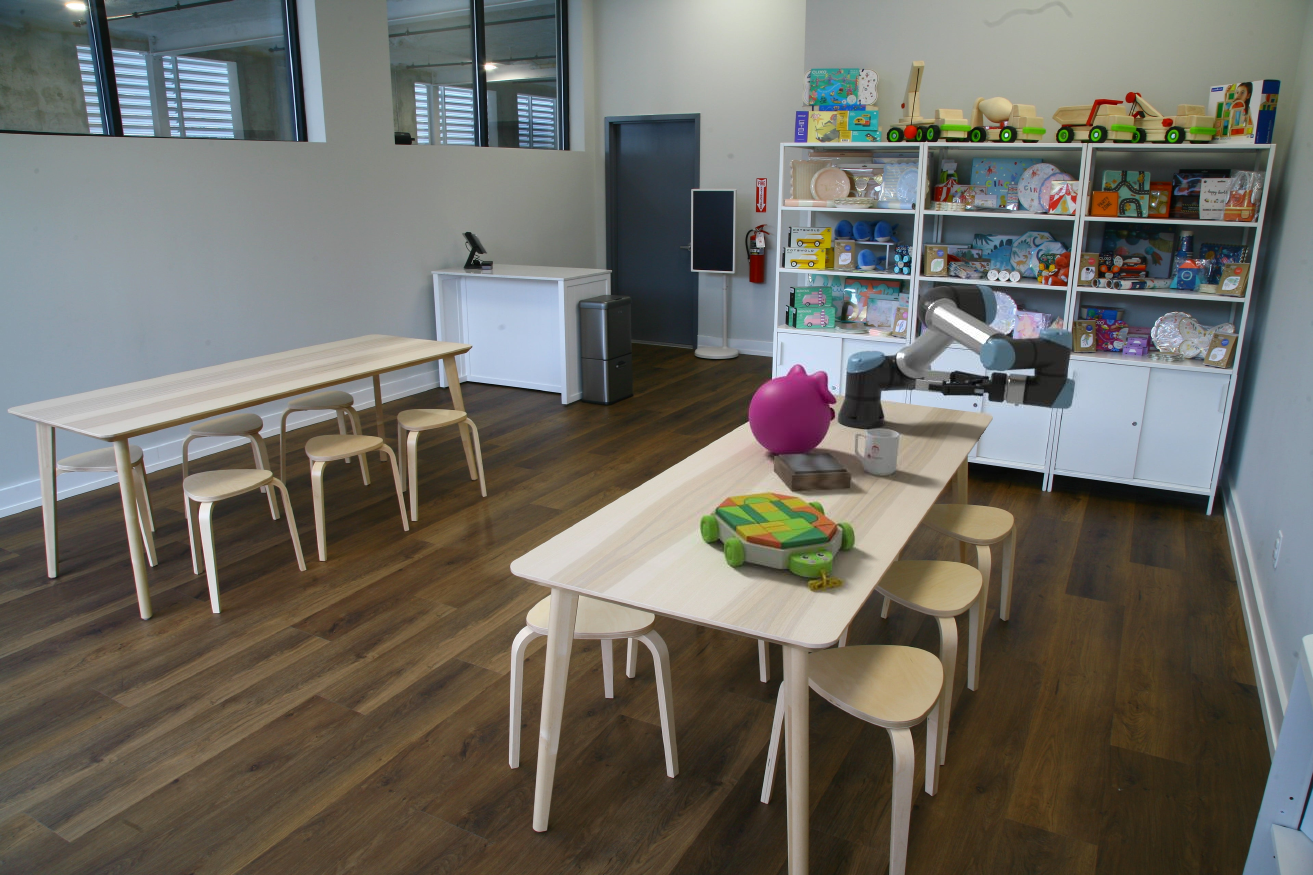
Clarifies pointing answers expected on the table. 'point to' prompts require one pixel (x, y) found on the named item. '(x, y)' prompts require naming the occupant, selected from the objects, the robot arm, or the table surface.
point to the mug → (879, 451)
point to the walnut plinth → (811, 472)
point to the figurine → (792, 412)
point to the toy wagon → (779, 535)
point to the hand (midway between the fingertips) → (920, 379)
